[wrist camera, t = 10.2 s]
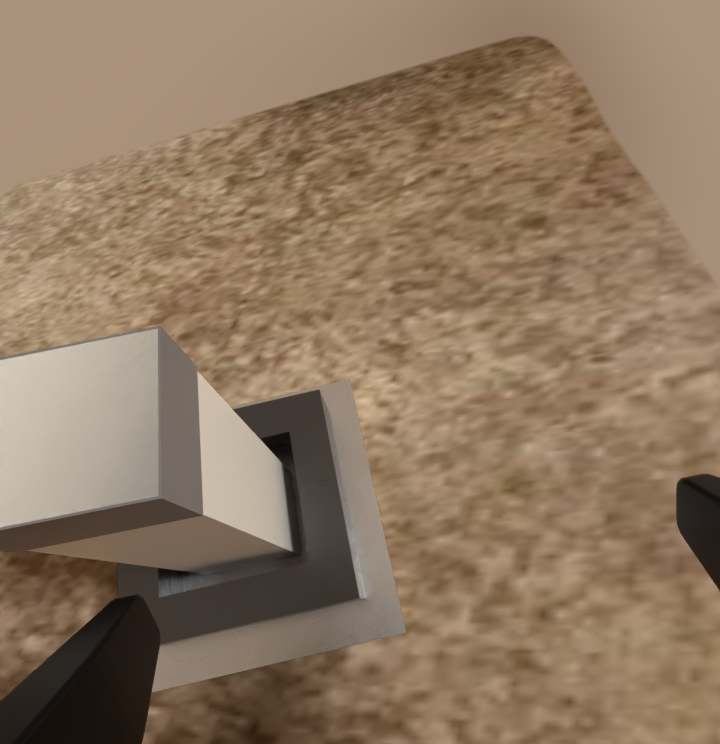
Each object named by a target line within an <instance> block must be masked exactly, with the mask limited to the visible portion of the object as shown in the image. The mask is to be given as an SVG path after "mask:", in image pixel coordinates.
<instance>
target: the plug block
mask: <svg viewBox="0 0 720 744" xmlns="http://www.w3.org/2000/svg"><path fill="white" fill-rule="evenodd" d="M0 551H7V552H15V553H17V552H22V551H32V552H40V553H47V554H55V555H63V556H71V557H78V558H86V559H94V560H102V561H109V562H117V563H125V564H133V565H140V566H148V567H156V568H164V569H171V570H179V571H187V572H194V573H202V574H209V573H214V572H219V571H225V570H230V569H235V568H240V567H245V566H250V565H255V564H260V563H265V562H270V561H275V560H280V559H285V558H290V557H295V556H300V555H301V550H300V542H299V534H298V525H297V517H296V509H295V500H294V492H293V484H292V475H291V472H290V471H289V470H288V469H287V468H286V467H285V466H284V465H283V464H282V462H281V461H280V460H279V459H278V458H277V457H276V456H275V455H274V454H273V453H272V452H271V451H270V449H269V448H268V447H267V446H266V445H265V444H264V443H263V442H262V441H261V440H260V439H259V438H258V436H257V435H256V434H255V433H254V432H253V431H252V430H251V429H250V428H249V427H248V426H247V425H246V423H245V422H244V421H243V420H242V419H241V418H240V417H239V416H238V415H237V414H236V413H235V412H234V410H233V409H232V408H231V407H230V406H229V405H228V404H227V403H226V402H225V401H224V400H223V399H222V397H221V396H220V395H219V394H218V393H217V392H216V391H215V390H214V389H213V388H212V387H211V386H210V384H209V383H208V382H207V381H206V380H205V379H204V378H203V377H202V376H201V375H200V374H199V373H198V371H197V366H196V365H195V364H194V363H193V362H192V361H191V359H190V358H189V357H188V356H187V355H186V354H185V353H184V352H183V351H182V349H181V348H180V347H179V346H178V345H177V344H176V343H175V342H174V341H173V340H172V338H171V337H170V336H169V335H168V334H167V333H166V332H165V331H164V330H163V329H162V327H161V326H158V327H153V328H148V329H143V330H138V331H133V332H128V333H123V334H118V335H113V336H108V337H103V338H98V339H93V340H88V341H83V342H78V343H73V344H68V345H63V346H58V347H53V348H48V349H43V350H38V351H33V352H29V353H24V354H19V355H14V356H9V357H4V358H0Z"/></svg>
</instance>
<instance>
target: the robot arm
mask: <svg viewBox="0 0 720 744" xmlns="http://www.w3.org/2000/svg"><path fill="white" fill-rule="evenodd" d="M676 519H677V525H678V528H679V531H680V533H681V534H682V536H683V538H684V539H685V541H686V542H687V544H688V545H689V546H690V548H691V549H692V551H693V552H694V554H695V555H696V557H697V558H698V560H699V561H700V563H701V564H702V566H703V567H704V569H705V570H706V571H707V573H708V574H709V576H710V577H711V579H712V580H713V582H714V583H715V585H716V586H717V588H718V589H719V591H720V478H719V477H716V476H713V475H709V474H699V475H694V476H689V477H685V478H682V479H680V480H679V481H678V483H677V488H676ZM160 641H161V637H160V631H159V628H158V625H157V623H156V621H155V619H154V617H153V615H152V613H151V611H150V609H149V607H148V605H147V603H146V601H145V599H144V598H143V597H142V596H141V595H139V594H134V595H129V596H124V597H119V598H116V599H114V600H113V601H111V602H110V603H109V604H108V605H107V606H106V607H105V608H104V609H102V610H101V611H100V612H99V613H98V614H97V615H96V616H95V617H94V618H92V619H91V620H90V621H89V622H88V623H87V624H86V625H85V626H83V627H82V628H81V629H80V630H79V631H78V632H77V633H76V634H75V635H73V636H72V637H71V638H70V639H69V640H68V641H67V642H66V643H65V644H63V645H62V646H61V647H60V648H59V649H58V650H57V651H56V652H55V653H53V654H52V655H51V656H50V657H49V658H48V659H47V660H46V661H44V662H43V663H42V664H41V665H40V666H39V667H38V668H37V669H36V670H34V671H33V672H32V673H31V674H30V675H29V676H28V677H27V678H26V679H24V680H23V681H22V682H21V683H20V684H19V685H18V686H17V687H16V688H14V689H13V690H12V691H11V692H10V693H9V694H8V695H7V696H5V697H4V698H3V699H2V700H1V701H0V744H142V741H143V736H144V731H145V726H146V721H147V715H148V710H149V704H150V699H151V693H152V688H153V682H154V677H155V671H156V665H157V660H158V654H159V649H160Z"/></svg>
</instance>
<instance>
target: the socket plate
mask: <svg viewBox="0 0 720 744" xmlns="http://www.w3.org/2000/svg"><path fill="white" fill-rule="evenodd" d="M231 408H232V409H233V410H234V412H235V413H236V414H237V415H238V416H239V417H240V418H241V419H242V420H243V421H244V422H245V423H246V425H247V426H248V427H249V428H250V429H251V430H252V431H253V432H254V433H255V434H256V435H257V436H258V438H259V439H260V440H261V441H262V442H263V443H264V444H265V445H266V446H267V447H268V448H269V449H270V451H271V452H272V453H273V454H274V455H275V456H276V457H277V458H278V459H279V460H280V461H281V462H282V464H283V465H284V466H285V467H286V468H287V469H288V470H289V471H290V472H291V475H292V484H293V492H294V500H295V509H296V517H297V525H298V534H299V542H300V550H301V555H300V556H295V557H290V558H285V559H280V560H275V561H270V562H265V563H260V564H255V565H250V566H245V567H240V568H235V569H230V570H225V571H219V572H214V573H209V574H202V573H194V572H187V571H179V570H171V569H164V568H156V567H148V566H140V565H133V564H125V563H118V598H119V597H124V596H129V595H134V594H139V595H141V596H142V597H143V598H144V599H145V601H146V603H147V605H148V607H149V609H150V611H151V613H152V615H153V617H154V619H155V621H156V623H157V625H158V628H159V631H160V637H161V641H160V649H159V654H158V660H157V665H156V671H155V677H154V682H153V688H152V692H156V691H160V690H165V689H169V688H173V687H177V686H182V685H186V684H190V683H194V682H199V681H203V680H207V679H211V678H216V677H220V676H224V675H228V674H233V673H237V672H241V671H246V670H250V669H254V668H258V667H263V666H267V665H271V664H275V663H280V662H284V661H288V660H292V659H297V658H301V657H305V656H309V655H314V654H318V653H322V652H326V651H331V650H335V649H339V648H344V647H348V646H352V645H356V644H361V643H365V642H369V641H373V640H378V639H382V638H386V637H390V636H395V635H399V634H403V633H406V628H405V623H404V619H403V614H402V610H401V605H400V601H399V596H398V592H397V587H396V583H395V578H394V574H393V569H392V565H391V560H390V556H389V552H388V547H387V543H386V538H385V534H384V529H383V525H382V520H381V516H380V511H379V507H378V502H377V498H376V493H375V489H374V484H373V480H372V475H371V471H370V466H369V462H368V457H367V453H366V448H365V444H364V439H363V435H362V430H361V426H360V422H359V417H358V413H357V408H356V404H355V399H354V395H353V390H352V386H351V382H350V379H349V380H345V381H340V382H336V383H332V384H327V385H323V386H319V387H314V388H310V389H306V390H301V391H297V392H293V393H288V394H284V395H280V396H275V397H271V398H267V399H262V400H258V401H254V402H249V403H245V404H241V405H236V406H232V407H231Z"/></svg>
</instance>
